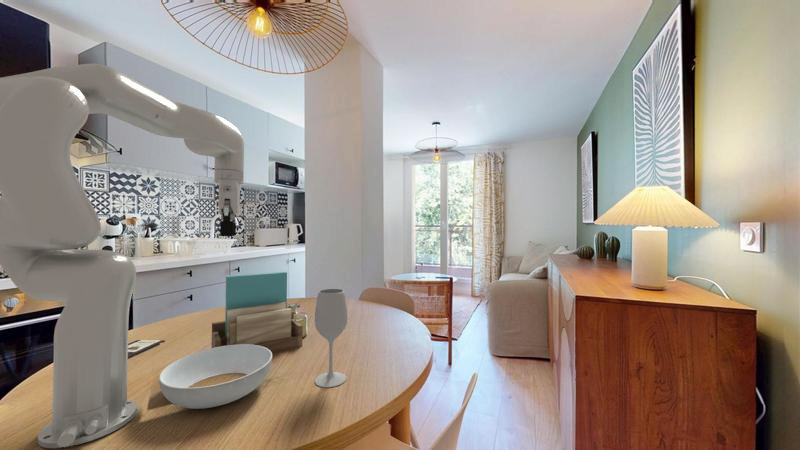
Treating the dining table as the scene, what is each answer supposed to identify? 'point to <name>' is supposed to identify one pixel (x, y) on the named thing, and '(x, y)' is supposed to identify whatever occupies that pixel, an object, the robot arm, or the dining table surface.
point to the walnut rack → (273, 346)
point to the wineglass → (330, 329)
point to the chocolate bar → (141, 346)
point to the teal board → (255, 290)
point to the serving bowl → (211, 364)
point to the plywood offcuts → (258, 324)
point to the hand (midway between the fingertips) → (228, 235)
